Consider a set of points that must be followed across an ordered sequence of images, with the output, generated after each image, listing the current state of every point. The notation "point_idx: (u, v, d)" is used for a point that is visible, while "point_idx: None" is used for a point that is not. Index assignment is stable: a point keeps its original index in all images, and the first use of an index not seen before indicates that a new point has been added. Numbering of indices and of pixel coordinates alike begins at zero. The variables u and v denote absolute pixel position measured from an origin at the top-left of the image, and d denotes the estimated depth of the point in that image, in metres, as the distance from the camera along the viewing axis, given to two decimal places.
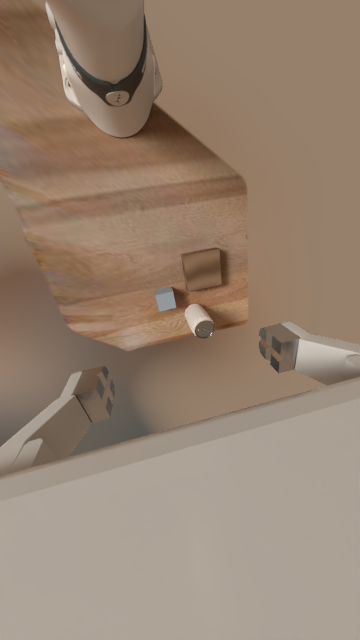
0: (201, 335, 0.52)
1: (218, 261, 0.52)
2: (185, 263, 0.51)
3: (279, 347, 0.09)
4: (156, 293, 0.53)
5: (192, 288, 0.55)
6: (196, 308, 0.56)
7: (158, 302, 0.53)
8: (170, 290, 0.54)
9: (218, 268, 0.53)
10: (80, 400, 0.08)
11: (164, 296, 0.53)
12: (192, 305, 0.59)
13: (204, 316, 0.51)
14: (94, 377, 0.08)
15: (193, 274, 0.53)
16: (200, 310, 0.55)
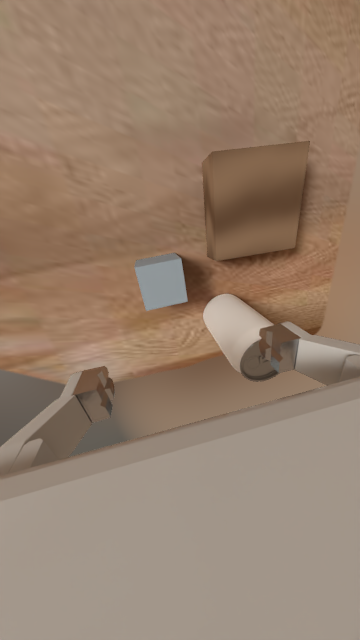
0: (255, 372, 0.20)
1: (299, 181, 0.20)
2: (216, 178, 0.19)
3: (279, 347, 0.09)
4: (138, 264, 0.21)
5: (226, 253, 0.22)
6: (235, 304, 0.24)
7: (143, 287, 0.21)
8: (173, 257, 0.21)
9: (296, 202, 0.21)
10: (80, 400, 0.08)
11: (158, 271, 0.20)
12: (221, 297, 0.27)
13: (265, 325, 0.19)
14: (94, 377, 0.08)
15: (232, 214, 0.20)
16: (245, 308, 0.23)
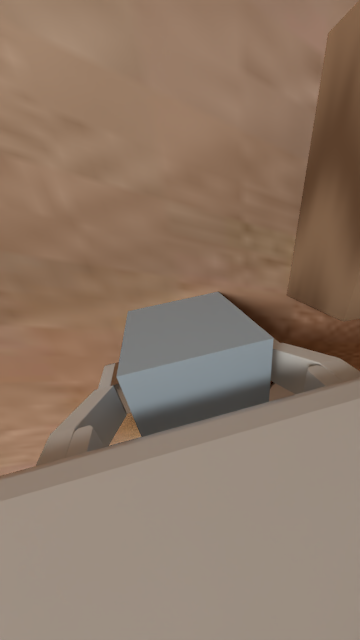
0: None
1: None
2: None
3: None
4: (131, 349, 0.07)
5: None
6: None
7: (146, 422, 0.07)
8: (237, 324, 0.07)
9: None
10: (118, 390, 0.08)
11: (196, 377, 0.06)
12: None
13: None
14: None
15: None
16: None
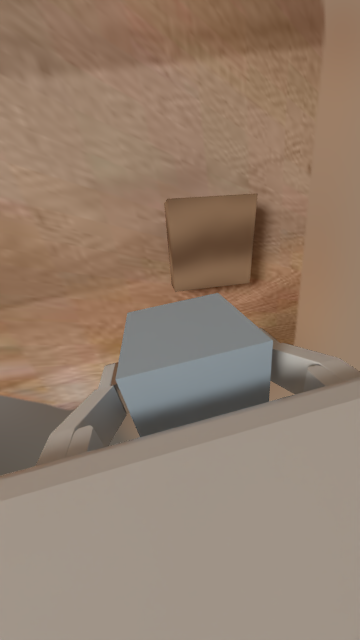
0: None
1: (250, 226, 0.22)
2: (171, 220, 0.21)
3: None
4: (130, 351, 0.07)
5: (184, 285, 0.24)
6: None
7: (145, 424, 0.07)
8: (237, 326, 0.07)
9: (247, 244, 0.23)
10: (118, 390, 0.08)
11: (195, 380, 0.06)
12: None
13: None
14: None
15: (188, 251, 0.22)
16: None
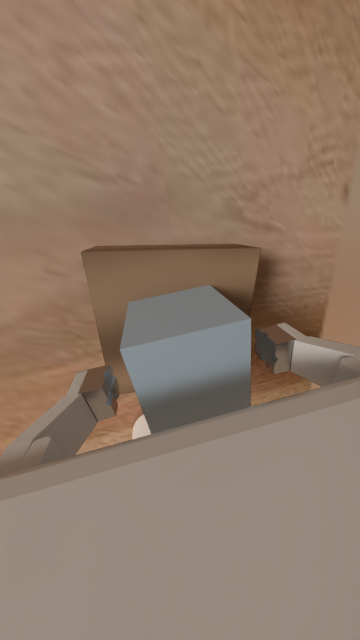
0: None
1: (244, 300, 0.13)
2: (94, 290, 0.11)
3: (274, 348, 0.08)
4: (131, 330, 0.08)
5: (128, 386, 0.14)
6: None
7: (144, 392, 0.08)
8: (223, 309, 0.08)
9: None
10: (86, 398, 0.08)
11: (186, 352, 0.07)
12: None
13: None
14: (100, 376, 0.08)
15: None
16: None
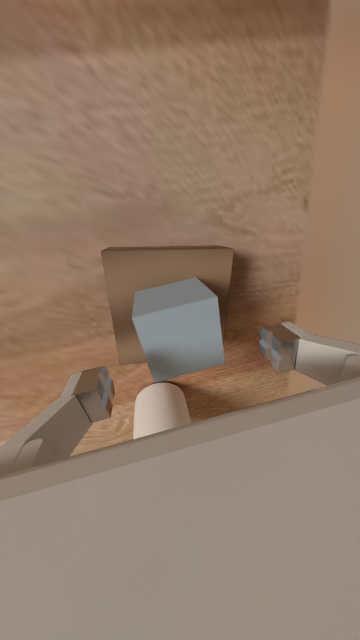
0: None
1: (223, 289, 0.16)
2: (109, 279, 0.14)
3: (279, 347, 0.09)
4: (138, 307, 0.12)
5: (133, 357, 0.18)
6: (158, 412, 0.20)
7: (148, 348, 0.12)
8: (201, 292, 0.12)
9: (220, 310, 0.17)
10: (80, 400, 0.08)
11: (175, 320, 0.11)
12: (151, 391, 0.22)
13: None
14: (94, 377, 0.08)
15: None
16: (166, 424, 0.18)
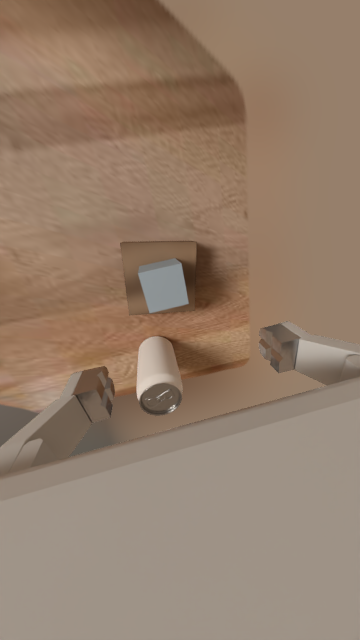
0: (156, 408, 0.26)
1: (192, 266, 0.27)
2: (124, 259, 0.25)
3: (279, 347, 0.09)
4: (141, 270, 0.22)
5: (137, 310, 0.28)
6: (153, 349, 0.30)
7: (146, 291, 0.22)
8: (174, 262, 0.23)
9: (191, 280, 0.28)
10: (80, 400, 0.08)
11: (160, 275, 0.22)
12: (149, 340, 0.33)
13: (160, 373, 0.25)
14: (94, 377, 0.08)
15: (139, 284, 0.27)
16: (158, 354, 0.29)
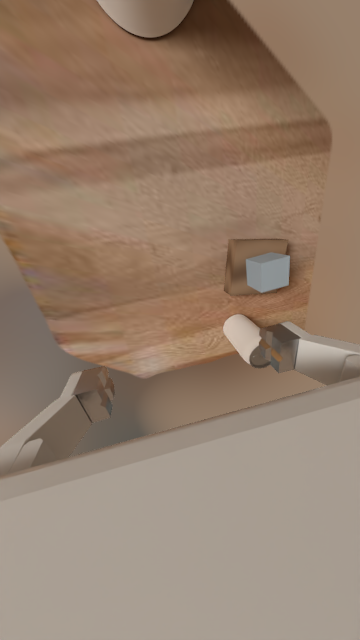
0: (258, 363, 0.35)
1: None
2: (236, 253, 0.34)
3: (279, 347, 0.09)
4: (258, 261, 0.31)
5: (237, 292, 0.37)
6: (245, 322, 0.39)
7: (263, 276, 0.31)
8: (281, 255, 0.32)
9: None
10: (80, 400, 0.08)
11: (274, 265, 0.31)
12: (235, 317, 0.42)
13: None
14: (94, 377, 0.08)
15: (243, 271, 0.36)
16: (251, 325, 0.38)
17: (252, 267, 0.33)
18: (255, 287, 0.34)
